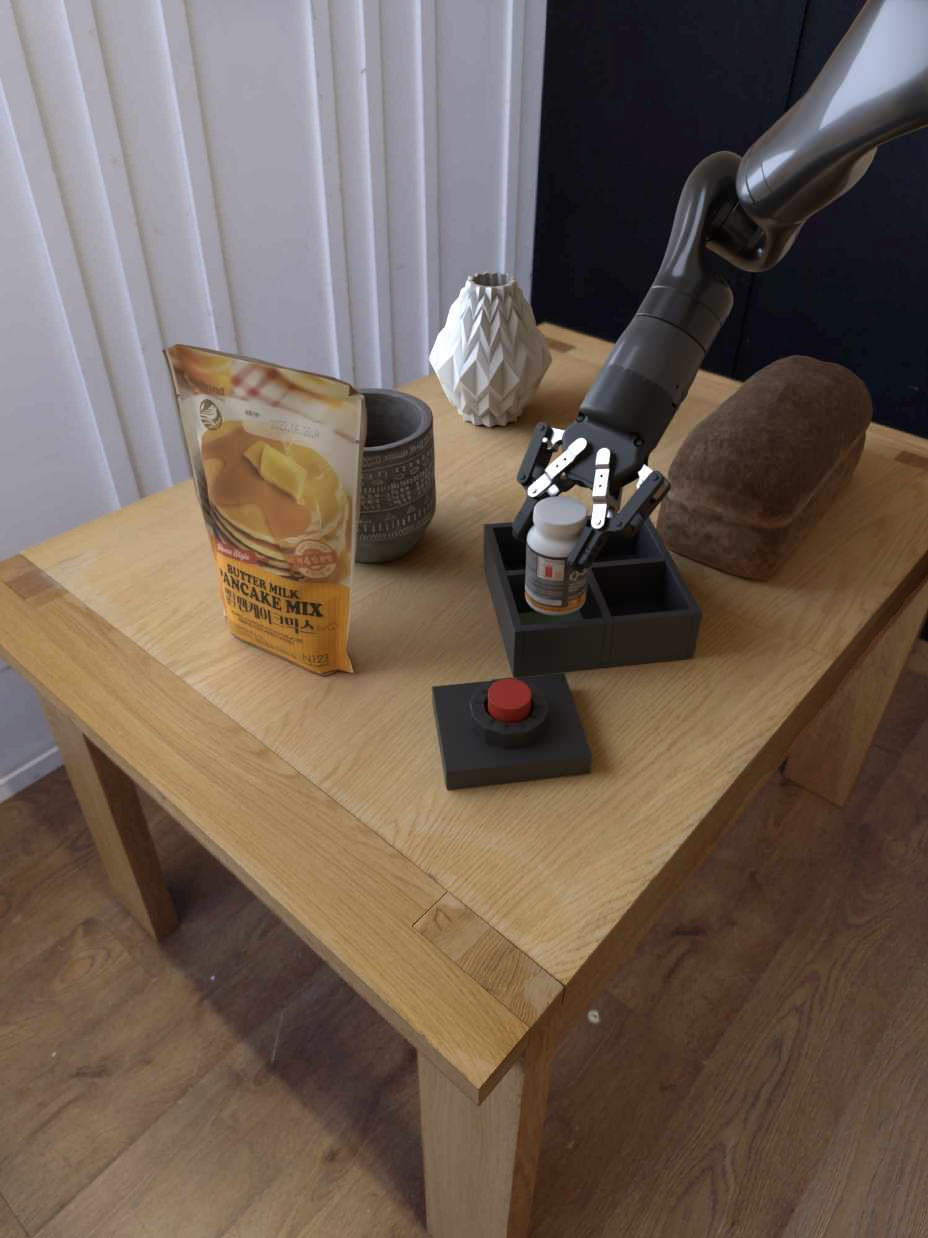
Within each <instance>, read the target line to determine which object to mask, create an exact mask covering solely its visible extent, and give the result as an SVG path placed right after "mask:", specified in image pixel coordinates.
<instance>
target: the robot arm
mask: <svg viewBox="0 0 928 1238" xmlns="http://www.w3.org/2000/svg"><path fill="white" fill-rule="evenodd" d="M926 127H928V0H866V2H865V4H864V5H863V6H862V8H861V10H860V11H859V13H858V14H857V16H856V18H854V20H853V22H852V24H851V25H850V27H849V28H848V30H847V31H846V33H845V34H844V35H843V37H842V39H841V40H840V42H839V43H838V45H837V46H836V47H835V49H834V50H833V52H832V53H831V55H830V56H829V57H828V59H827V61H826V62H825V64H824V65H823V67H822V68H821V70H820V71H819V73H818V74H817V76H816V78H815V79H814V80H813V82H812V83H811V85H810V86H809V87H808V89H807V90H806V91H805V93H803V95H802V96H800V98H799V99H798V100H797V101H796V103H794V104H793V105H792V106H791V107H790V108H789V109H788V110H787V111H786V112H784V113H783V115H782V116H780V117H779V118H778V119H777V120H776V121H775V122H774V123H773V124H772V125H771V126H770V127H769V128H768V129H767V130H766V131H765V132H764V133H763V134H762V135H760V137H759V138H757V139H756V141H754V142H753V143H752V145H750V147H749V148H748V149H747V150H746V152H745V153H744V155H743V156H741V155H739V154H737V153H736V152H732V151H729V150H722V151H721V150H720V151H717V152H714V153H712V154H710V155H708V156H707V157H705V158H703V159H702V160H701V161H700V162H699V163H698V164H697V165H696V166H695V167H694V169H692V171H691V173H690V174H689V176H688V177H687V179H686V181H685V183H684V186H683V188H682V191H681V193H680V197H679V200H678V203H677V207H676V210H675V214H674V220H673V222H672V228H671V232H670V236H669V240H668V244H667V247H666V250H665V253H664V256H663V259H662V262H661V265H660V268H659V270H658V272H657V274H656V276H655V278H654V281H653V282H652V284H651V286H650V288H649V289H648V292H647V293H646V295H645V297H644V299H643V301H642V302H641V304H640V305H639V307H638V309H637V311H636V313H635V314H634V316H633V318H632V319H631V321H630V323H629V324H628V325H627V327H626V328H625V329H624V330H623V332H622V333H621V335H620V336H619V338H618V339H617V341H616V342H615V344H614V346H613V347H612V349H611V350H610V353H609V354H608V356H607V358H606V360H605V362H604V364H603V365H602V367H601V368H600V370H599V372H598V374H597V376H596V378H594V379H595V380H594V381H593V383H592V385H591V386H590V388H589V390H588V392H587V394H586V395H585V397H584V399H583V401H582V402H581V404H580V406H579V410H578V414H577V417H576V419H575V420H574V422H573V423H571V424H570V425H569V426H568V427H566V428H565V429H560V428H557V427H556V428H555V427H551V426H550V425H549V424H548V423H547V422H545V421H540V422H538V423H537V424H536V426H535V427H534V431H533V434H532V436H531V439H530V441H529V444H528V446H527V449H526V451H525V453H524V457H523V459H522V461H521V464H520V467H519V469H518V471H517V474H516V482H517V483H518V484H520V485H521V486H522V488H523V489H524V490H525V492H526V498H525V499H524V501H523V503H522V505H521V507H520V509H519V511H518V512H517V514H516V516H515V517H514V519H513V521H512V522H513V524H512V528H513V532H512V535H513V536H514V537H515V538H517V539H518V540H520V541H522V542H524V543H527V535H528V532H529V530H530V528H531V527H532V526H533V525H534V522H533V514H534V507H535V505H536V504H537V503H538V502H539V501H541V500H543V499H545V498H549V497H555V496H560V495H561V494H562V493H567V492H569V491H570V490H572V489H573V488H574V487H575V486H578V487H580V488H585V489H590V491H591V492H592V494H591V495H592V497H591V499H592V503H593V505H592V506H593V507H592V512H591V513H592V514H591V515H592V520H591V527H588V526H586V527H585V529H584V531H583V532H582V534H581V536H580V538H579V539H578V541H577V543H576V545H575V546H574V548H573V550H572V552H571V553H570V555H569V557H568V559H567V561H566V565H567V566H569V567H570V568H572V569H574V570H575V571H577V572H582V571H583V569H584V568H586V569H588V568H589V567H590V566H591V565H592V564H593V562H594V560H595V558H596V557H597V554H598V553H599V551H600V550H601V548H602V546H603V544H604V543H605V541H606V540H607V539H608V538H609V537H611V536H621V537H624V538H626V539H630V538H632V537H633V536H634V535H635V533H636V532H637V531H638V530H639V528H640V527H641V526H642V525H643V523H644V522H645V521H646V520H647V518H648V517H650V516H651V515H652V514H653V513H654V511H655V510H656V508H658V506H660V504H661V501H662V500H663V498H664V497H665V496H666V495H667V493H668V492H669V491H670V489H671V484H670V483H669V481H668V480H667V477H666V476H665V475H664V474H663V473H661V471H660V470H654V469H652V468H651V467H649V458H650V456H651V454H652V453H653V451H654V450H655V449H657V447H658V445H659V443H660V441H661V440H662V438H663V436H664V434H665V433H666V432H667V429H668V428H669V426H670V424H671V422H672V420H673V419H674V417H675V415H676V414H677V412H678V410H679V408H680V407H681V404H682V403H683V402H684V400H686V398H687V397H688V394H689V391H690V389H691V387H692V386H693V384H694V381H695V379H696V378H697V375H698V373H699V370H700V367H701V365H702V363H703V361H704V359H705V357H706V355H707V353H708V352H709V350H710V349H711V346H713V343H714V342H715V340H716V338H717V336H718V334H719V333H720V331H721V329H722V327H723V326H724V324H725V322H726V321H727V319H728V317H729V315H730V312H731V310H732V308H733V305H734V295H733V291H732V289H731V288H730V286H729V285H728V283H727V282H726V281H725V279H724V278H723V277H722V276H721V275H720V274H719V273H718V272H717V271H716V270H715V269H714V267H713V266H712V264H711V263H710V261H709V259H708V257H707V249H709V250H711V251H712V252H714V253H715V254H717V255H718V256H720V257H721V258H723V259H724V260H726V261H727V262H729V263H730V264H732V265H733V266H735V267H736V268H738V269H739V270H742V271H744V272H750V273H761V272H765V271H769V270H770V269H773V267H775V266H776V265H778V264H779V263H780V262H781V261H782V259H784V258H785V256H786V255H787V253H789V251H790V249H791V248H792V246H793V244H794V243H795V241H796V239H797V237H798V235H799V233H800V232H801V229H802V227H803V226H804V224H805V223H806V222H807V221H808V220H809V219H810V218H811V217H812V216H814V215H815V214H817V213H818V212H820V211H822V210H823V209H825V208H826V207H827V206H829V205H830V204H832V203H833V202H834V201H836V200H837V199H839V198H840V197H843V195H845V194H846V193H847V192H848V191H850V190H851V189H852V188H853V187H855V185H856V184H857V183H858V182H859V181H860V180H861V179H862V178H863V176H864V175H865V174H866V172H867V170H868V169H869V167H870V165H871V164H872V162H873V160H874V157H875V155H876V153H877V150H878V147H880V146H882V145H883V144H886V143H888V142H890V141H893V140H895V139H897V138H901V137H902V136H905V135H908V134H910V133H913V132H916V131H918V130H921V129H923V128H926ZM560 446H561V452H562V453H561V455H560V456H558V457H557V458H556V459H555V460H553V462H551V463H550V461H551V459H552V457H553V454H554V453H557V452H558V451H559V447H560ZM637 480H638V481H637ZM635 481H637V483H636V490H635V492H634V493H633V494H632V495H631V497H629V499H628V500H627V502H626V503H625V504H624V506H623V507H622V508H621V505H622V498H623V491H624V487H626V486H627V485H629V484H631V483H633V482H635ZM617 513H618V514H617Z"/></svg>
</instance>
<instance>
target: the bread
mask: <svg viewBox="0 0 928 1238" xmlns="http://www.w3.org/2000/svg"><path fill="white" fill-rule="evenodd" d="M873 413H874V409H873V401H872V395H871V394H870V391H869V390H868V387H867V386H866V383H865V382H864V380H862V379H861V378H860V377H859V376H858V375H857V374H856V373H854V372H853V371H852V370H851V369H850V368H847V367H846V366H843V365H841V364H838V363H835V362H829V361H823V360H820V359H817V358H815V357H812V356H808V355H802V354H801V355H800V354H794V355H791V356H786V357H783V358H779V359H777V360H774V361H773V362H771V363H770V364H768V365H766V366H765V367H763V368H761V369H760V370H757V371H756V372H754V373H753V374H752V375H751V376H749V378H747V379H746V380H745V381H744V382H743V383H742V384H741V385H740V387H738V389H737V390H736V391H735V392H734V393H733V394H732V395H730V396H729V397H728V398H726V399H725V400H724V401H723V402H722V403H721V404H720V405H719V406H718V407H716V409H715V410H713V411H712V412H711V413H710V414H709V415H707V416H706V417H705V418H703V419H702V420H701V421H700V422H698V424H697V425H695V426H694V428H692V429H691V430H690V431H689V433H688V434H687V436H686V437H685V439H684V440H683V442H682V443H681V445H680V447H679V448H678V450H677V452H676V454H675V455H674V458H673V459H672V461H671V464H670V466H669V468H668V470H667V477H666V479H667V480H668V481H669V483H670V484H671V489H670V491H669V492H668V493H667V495H666V496H665V497H664V498H663V500H662V501H661V502H660V503H659V507H658V508H659V509H658V513H657V517H656V518H657V519H656V524H655V528H656V530H657V532H658V534H659V536H660V537H661V539H662V541H663V543H664V545H665V546H666V548H667V549H669V550H671V551H673V552H675V553H677V554H680V555H682V556H684V557H687V558H690V559H691V560H694V561H697V562H700V563H702V564H705V565H707V566H709V567H712V568H713V569H714V568H715V569H717V570H719V571H722V572H726V573H728V574H731V575H734V576H738V577H741V578H744V579H745V578H746V579H751V580H758V581H759V580H761V581H768V580H769V579H770V577H771V576H772V575H773V574H774V573H775V572H777V570H778V569H779V568H780V566H781V565H782V564H783V563H784V562H785V561H786V560H787V559H788V558H789V557H790V556H791V554H792V553H793V552H794V551H795V549H796V548H797V547H798V545H799V544H800V543H801V542H802V540H803V539H805V537H806V536H807V535H808V534H809V533H810V532H811V530H812V529H813V528H814V526H815V524H817V522H818V521H819V520H820V519H821V518H822V517H823V515H824V514H825V512H826V511H827V510H828V509H829V507H830V506H831V505H832V504H833V503H834V502H835V500H836V498H837V496H838V495H839V493H841V491H842V489H843V488H844V487H845V486H846V485H847V484H848V483H849V481H850V480H851V479H852V477H853V474H854V473H855V470H856V469H857V467H858V464H859V462H860V460H861V457H862V454H863V451H864V448H865V444H866V440H867V439H866V438H867V431H868V429H869V427H870V426H871V423H872V418H873Z"/></svg>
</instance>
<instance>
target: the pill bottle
mask: <svg viewBox="0 0 928 1238" xmlns="http://www.w3.org/2000/svg"><path fill="white" fill-rule="evenodd" d="M587 516H588V508H587V507H586V505H585V504H584V503H583V502H581V500H578V499H576V498H573V497H570V496H563V495H562V496H560V495H559V496H555V497H549V498H545V499H543V500H541V501H539V502H538V503H537V504H536V505H535V507H534V514H533V522H534V525H533V526H532V527H531V528H530V530H529V532H528V535H527V545H526V576H525V597H526V601H527V602H528V604H529V605H530V607H531V608H533V609H534V610H535V611H537V612H539V613H542V614H545V615H549V616H564V615H568V614H571V613H574V612H576V611H577V610H579V609H580V608H581V607H582V606H583V604H584V602H585V599H586V592H587V582H588V571H589V568H588V569H586V568H584V569H583V571H582V572H577V571H575V570H574V569H572V568H570V567H569V566H567V565H566V561H567V559H568V557H569V555H570V553H571V552H572V550H573V548H574V546H575V545H576V543H577V541H578V539H579V538H580V536H581V534H582V532H583V531H584V529H585V527H586V524H587Z"/></svg>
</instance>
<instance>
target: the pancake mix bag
mask: <svg viewBox="0 0 928 1238" xmlns="http://www.w3.org/2000/svg"><path fill="white" fill-rule="evenodd" d="M161 352H162V354H163V356H164V358H165V361H166V365H167V368H168V371H169V375H170V379H171V383H172V387H173V392H174V397H175V403H176V406H177V410H178V414H179V417H180V421H181V426H182V430H183V431H182V432H183V436H184V442H185V448H186V452H187V456H188V459H189V463H190V467H191V475H192V481H193V485H194V490H195V496H196V499H197V502H198V504H199V505H198V506H199V508H200V511H201V514H202V519H203V522H204V525H205V529H206V532H207V536H208V539H209V544H210V548H211V552H212V555H213V558H214V561H215V562H214V563H215V567H216V571H217V578H218V587H219V588H218V589H219V592H220V598H221V603H222V616H223V617H224V618H226V619H227V625H228V629H229V632H230V633H231V634H232V635H233V636H234V637H235V638H237V639H239V640H240V641H242V642H244V643H247V644H248V645H251V646H253V647H254V648H257V649H259V650H261V651H263V652H265V653H268V654H270V655H273V656H275V657H277V658H279V659H282V660H284V661H286V662H288V663H290V664H292V665H294V666H296V667H298V668H299V669H303V670H305V671H307V672H309V673H312V674H315V675H318V676H321V677H326V676H327V675H330V674H333V673H336V672H338V671H340V672H345V673H350V674H354V673H355V672H354V670H353V665H352V662H351V658H350V654H349V652H348V650H347V647H348V641H349V640H348V639H349V633H350V626H351V625H350V623H351V618H352V603H353V601H352V600H353V584H354V574H355V563H356V562H355V554H356V543H357V527H358V523H359V518H360V495H361V475H362V461H363V450H364V444H365V439H366V433H367V411H366V405H365V398H364V396H363V395H362V394H360V393H359V392H357V391H356V390H355V389H356V388H354V387H353V386H352V385H351V384H350V383H349V382H347V381H345V380H342V379H340V378H337V377H334V376H330V375H325V374H321V373H317V372H313V371H307V370H304V369H298V368H292V367H287V366H284V365H280V364H278V363H274V362H270V361H266V360H263V359H260V358H256V357H252V356H247V355H242V354H241V355H240V354H238V353H237V354H236V353H232V352H227V351H220V350H216V349H212V348H207V347H200V346H194V345H188V344H183V343H182V344H181V343H176V344H173V345H171V346H169V347H167V348H165V349H162V350H161Z"/></svg>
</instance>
